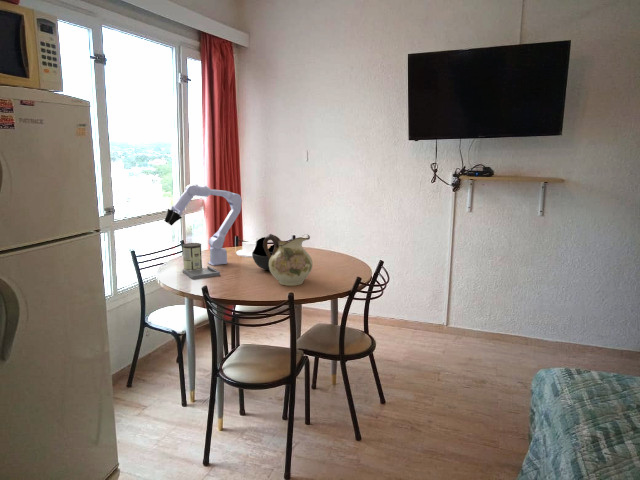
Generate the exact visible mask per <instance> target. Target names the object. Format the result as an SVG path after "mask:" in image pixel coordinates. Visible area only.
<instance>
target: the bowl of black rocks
mask: <svg viewBox="0 0 640 480" xmlns="http://www.w3.org/2000/svg"><path fill="white" fill-rule="evenodd" d="M266 237H267V236H264V237H263V238H262V237H260V238H259V239H258V241H257V242H256V247H255V249H254V251H253V252H252V256H253V257H252V259H253V261H254V263H255V264H256V265H257V266H258V267H259V268H261V269H262V270H265V271H270V269H269V259H268V257H267V255H266V253H265V250H264V248H263V241H264V239H265V238H266ZM278 246H279V245H278ZM268 250H269V252H270V255H271V256H272V254H273V250H274V243H273V244H272V245H270V247H268Z"/></svg>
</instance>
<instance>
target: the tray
mask: <svg viewBox="0 0 640 480" xmlns="http://www.w3.org/2000/svg"><path fill="white" fill-rule="evenodd" d="M182 273H183V274H184V275H186V276H187V277H188V278H190V279H191V280H196V279H197V280H198V279H203V278H204V279H205V278H211V277H218V276H219V277H220V275H221V272H220V271H219V270H217V269H215V268H213V267H211V266H210V265H207V266H206V268H204V269H203V268H202V269H200V270H195V271H186V270H185V269H184V268H183V269H182Z"/></svg>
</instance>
